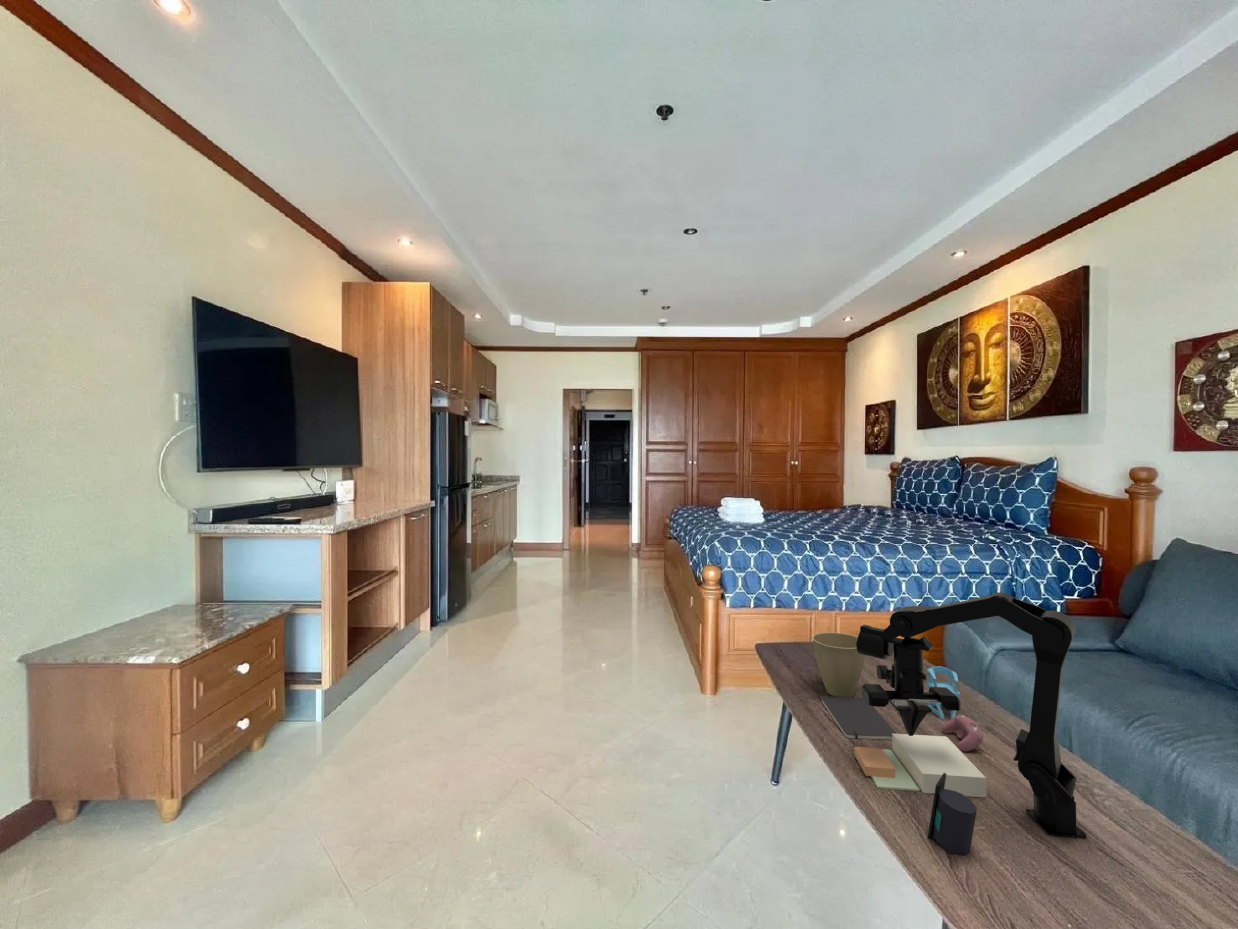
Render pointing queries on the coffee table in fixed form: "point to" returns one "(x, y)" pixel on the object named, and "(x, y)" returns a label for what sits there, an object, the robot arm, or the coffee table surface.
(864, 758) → the tile
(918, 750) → the cream flat block
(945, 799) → the speaker
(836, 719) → the notebook
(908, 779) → the mat
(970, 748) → the video game controller
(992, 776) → the coffee table surface
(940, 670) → the chair
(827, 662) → the plant pot
